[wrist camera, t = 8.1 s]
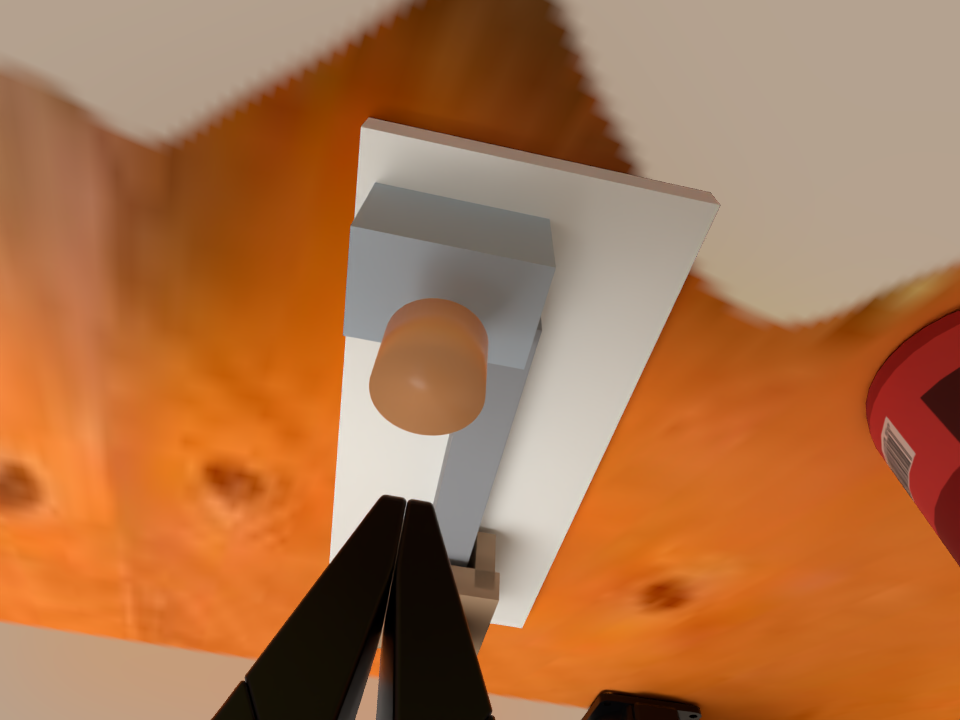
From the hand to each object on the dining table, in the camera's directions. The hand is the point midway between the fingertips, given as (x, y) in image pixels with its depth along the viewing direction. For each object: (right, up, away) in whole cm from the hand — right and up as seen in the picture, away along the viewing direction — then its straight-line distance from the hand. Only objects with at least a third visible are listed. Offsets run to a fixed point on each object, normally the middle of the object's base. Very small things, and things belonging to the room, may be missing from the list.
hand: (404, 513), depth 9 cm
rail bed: (+1, -1, +14) cm, 14 cm away
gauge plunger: (0, +3, +4) cm, 5 cm away
